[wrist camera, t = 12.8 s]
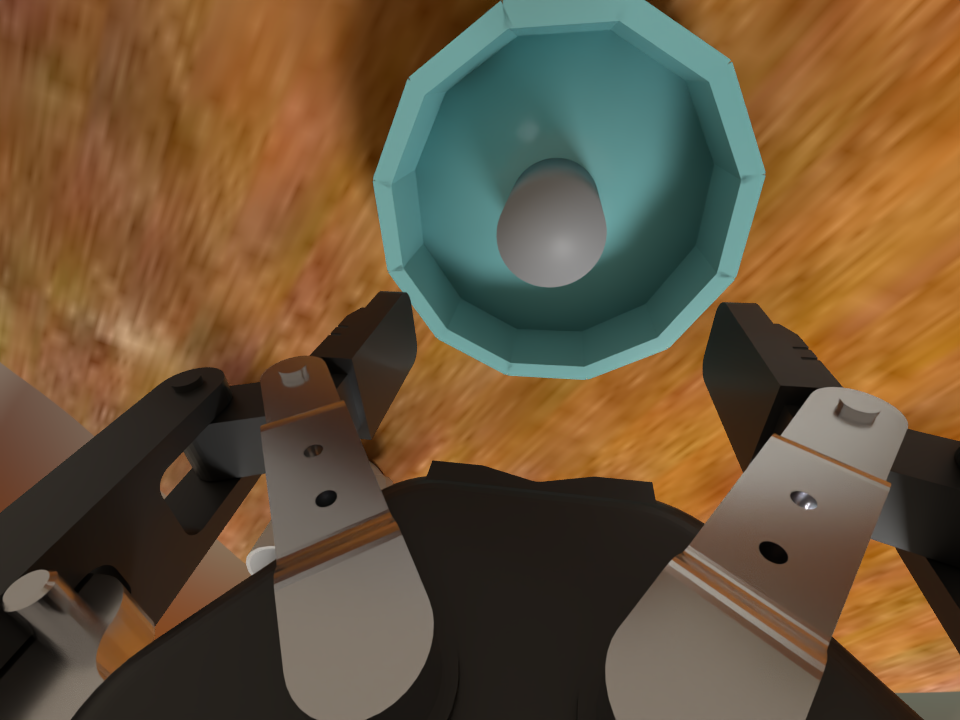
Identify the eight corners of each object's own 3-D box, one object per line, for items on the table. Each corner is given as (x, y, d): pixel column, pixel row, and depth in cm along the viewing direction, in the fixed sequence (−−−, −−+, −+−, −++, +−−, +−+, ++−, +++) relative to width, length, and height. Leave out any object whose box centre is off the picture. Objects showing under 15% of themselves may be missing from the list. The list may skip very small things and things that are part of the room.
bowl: (767, -5, 17) (823, -27, 13) (684, 340, 26) (704, 386, 22) (386, 23, 20) (344, 12, 16) (425, 330, 28) (403, 369, 24)
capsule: (603, 156, 20) (612, 178, 16) (594, 249, 23) (600, 288, 19) (508, 158, 21) (495, 180, 17) (509, 248, 23) (497, 286, 19)
